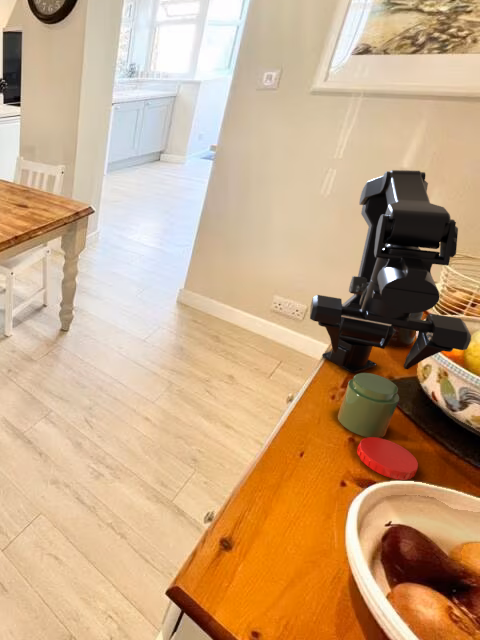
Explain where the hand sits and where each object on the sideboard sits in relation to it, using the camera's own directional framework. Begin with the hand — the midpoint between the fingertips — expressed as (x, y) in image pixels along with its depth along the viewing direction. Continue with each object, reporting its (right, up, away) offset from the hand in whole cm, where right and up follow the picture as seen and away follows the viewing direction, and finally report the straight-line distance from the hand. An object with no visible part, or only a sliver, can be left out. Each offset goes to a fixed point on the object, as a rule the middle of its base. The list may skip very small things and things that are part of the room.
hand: (368, 359), depth 72 cm
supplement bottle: (+25, -1, +20) cm, 32 cm away
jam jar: (0, -12, +1) cm, 12 cm away
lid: (-3, -14, -6) cm, 16 cm away
